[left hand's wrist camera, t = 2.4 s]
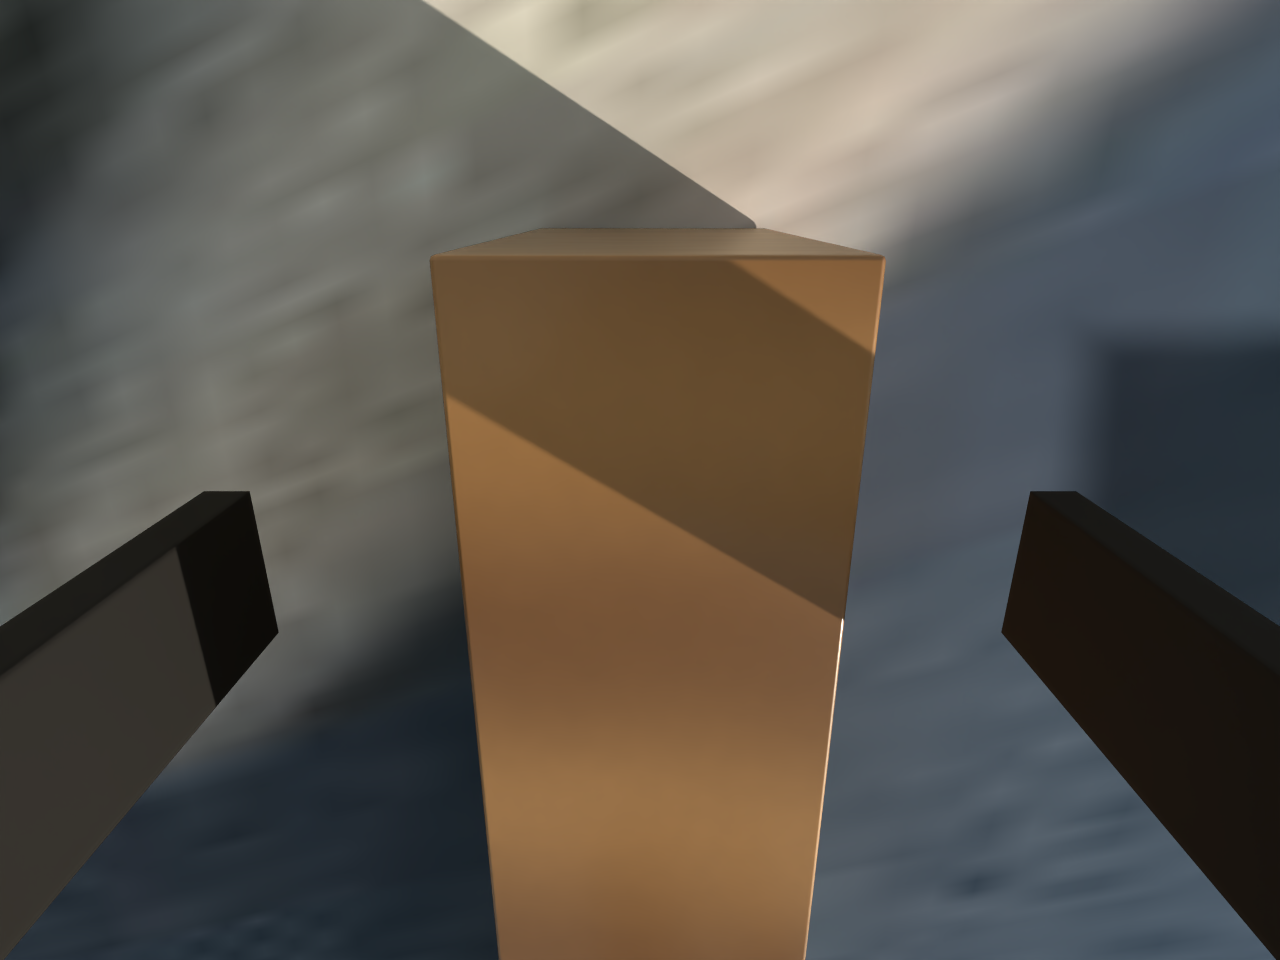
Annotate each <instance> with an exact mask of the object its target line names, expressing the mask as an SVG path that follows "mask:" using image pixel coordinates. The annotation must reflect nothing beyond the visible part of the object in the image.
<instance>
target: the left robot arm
mask: <svg viewBox="0 0 1280 960" xmlns="http://www.w3.org/2000/svg"><path fill="white" fill-rule="evenodd" d="M278 633H279V632H278V627H277V622H276V617H275V613H274V608H273V603H272V598H271V593H270V588H269V583H268V579H267V574H266V569H265V564H264V559H263V554H262V549H261V544H260V540H259V535H258V530H257V525H256V520H255V515H254V510H253V506H252V501H251V496H250V491H204V492H202V493H201V494H199V495H198V496H196V497H195V498H193V499H192V500H190V501H189V502H187V503H186V504H184V505H183V506H181V507H180V508H178V509H177V510H175V511H174V512H172V513H171V514H169V515H168V516H166V517H165V518H163V519H162V520H160V521H159V522H157V523H156V524H154V525H153V526H151V527H150V528H148V529H147V530H145V531H144V532H142V533H141V534H139V535H138V536H136V537H135V538H133V539H132V540H130V541H128V542H127V543H125V544H124V545H122V546H121V547H119V548H118V549H116V550H115V551H113V552H112V553H110V554H109V555H107V556H106V557H104V558H103V559H101V560H100V561H98V562H97V563H95V564H94V565H92V566H91V567H89V568H88V569H86V570H85V571H83V572H82V573H80V574H79V575H77V576H76V577H74V578H73V579H71V580H70V581H68V582H67V583H65V584H64V585H62V586H61V587H59V588H58V589H56V590H55V591H53V592H52V593H50V594H49V595H47V596H46V597H44V598H43V599H41V600H40V601H38V602H37V603H35V604H34V605H32V606H31V607H29V608H28V609H26V610H25V611H23V612H22V613H20V614H19V615H17V616H15V617H14V618H12V619H11V620H9V621H8V622H6V623H5V624H3V625H2V626H0V960H4V959H5V958H6V956H7V955H8V954H9V953H10V952H11V950H12V949H13V948H14V947H15V946H16V945H17V943H18V942H19V941H20V940H21V939H22V937H23V936H24V935H25V934H26V933H27V931H28V930H29V929H30V928H31V927H32V925H33V924H34V923H35V922H36V921H37V919H38V918H39V917H40V916H41V915H42V914H43V912H44V911H45V910H46V909H47V908H48V906H49V905H50V904H51V903H52V902H53V900H54V899H55V898H56V897H57V896H58V894H59V893H60V892H61V891H62V890H63V889H64V887H65V886H66V885H67V884H68V883H69V881H70V880H71V879H72V878H73V877H74V875H75V874H76V873H77V872H78V871H79V869H80V868H81V867H82V866H83V865H84V864H85V862H86V861H87V860H88V859H89V858H90V856H91V855H92V854H93V853H94V852H95V850H96V849H97V848H98V847H99V846H100V844H101V843H102V842H103V841H104V840H105V839H106V837H107V836H108V835H109V834H110V833H111V831H112V830H113V829H114V828H115V827H116V825H117V824H118V823H119V822H120V821H121V819H122V818H123V817H124V816H125V815H126V814H127V812H128V811H129V810H130V809H131V808H132V806H133V805H134V804H135V803H136V802H137V800H138V799H139V798H140V797H141V796H142V794H143V793H144V792H145V791H146V790H147V789H148V787H149V786H150V785H151V784H152V783H153V781H154V780H155V779H156V778H157V777H158V775H159V774H160V773H161V772H162V771H163V769H164V768H165V767H166V766H167V765H168V763H169V762H170V761H171V760H172V759H173V758H174V756H175V755H176V754H177V753H178V752H179V750H180V749H181V748H182V747H183V746H184V744H185V743H186V742H187V741H188V740H189V738H190V737H191V736H192V735H193V734H194V733H195V731H196V730H197V729H198V728H199V727H200V725H201V724H202V723H203V722H204V721H205V719H206V718H207V717H208V716H209V715H210V713H211V712H212V711H213V710H214V709H215V708H216V706H217V705H218V704H219V703H220V702H221V700H222V699H223V698H224V697H225V696H226V694H227V693H228V692H229V691H230V690H231V688H232V687H233V686H234V685H235V684H236V683H237V681H238V680H239V679H240V678H241V677H242V675H243V674H244V673H245V672H246V671H247V669H248V668H249V667H250V666H251V665H252V663H253V662H254V661H255V660H256V659H257V658H258V656H259V655H260V654H261V653H262V652H263V650H264V649H265V648H266V647H267V646H268V644H269V643H270V642H271V641H272V640H273V638H274V637H275V636H276V635H277V634H278ZM1001 633H1002V634H1003V635H1004V636H1005V637H1006V638H1007V640H1008V641H1009V642H1010V643H1011V644H1012V646H1013V647H1014V648H1015V649H1016V650H1017V652H1018V653H1019V654H1020V655H1021V656H1022V658H1023V659H1024V660H1025V661H1026V662H1027V663H1028V665H1029V666H1030V667H1031V668H1032V669H1033V671H1034V672H1035V673H1036V674H1037V675H1038V677H1039V678H1040V679H1041V680H1042V681H1043V683H1044V684H1045V685H1046V686H1047V687H1048V688H1049V690H1050V691H1051V692H1052V693H1053V694H1054V696H1055V697H1056V698H1057V699H1058V700H1059V702H1060V703H1061V704H1062V705H1063V706H1064V708H1065V709H1066V710H1067V711H1068V712H1069V713H1070V715H1071V716H1072V717H1073V718H1074V719H1075V721H1076V722H1077V723H1078V724H1079V725H1080V727H1081V728H1082V729H1083V730H1084V731H1085V733H1086V734H1087V735H1088V736H1089V737H1090V738H1091V740H1092V741H1093V742H1094V743H1095V744H1096V746H1097V747H1098V748H1099V749H1100V750H1101V752H1102V753H1103V754H1104V755H1105V756H1106V758H1107V759H1108V760H1109V761H1110V762H1111V763H1112V765H1113V766H1114V767H1115V768H1116V769H1117V771H1118V772H1119V773H1120V774H1121V775H1122V777H1123V778H1124V779H1125V780H1126V781H1127V783H1128V784H1129V785H1130V786H1131V787H1132V789H1133V790H1134V791H1135V792H1136V793H1137V794H1138V796H1139V797H1140V798H1141V799H1142V800H1143V802H1144V803H1145V804H1146V805H1147V806H1148V808H1149V809H1150V810H1151V811H1152V812H1153V814H1154V815H1155V816H1156V817H1157V818H1158V819H1159V821H1160V822H1161V823H1162V824H1163V825H1164V827H1165V828H1166V829H1167V830H1168V831H1169V833H1170V834H1171V835H1172V836H1173V837H1174V839H1175V840H1176V841H1177V842H1178V843H1179V844H1180V846H1181V847H1182V848H1183V849H1184V850H1185V852H1186V853H1187V854H1188V855H1189V856H1190V858H1191V859H1192V860H1193V861H1194V862H1195V864H1196V865H1197V866H1198V867H1199V868H1200V869H1201V871H1202V872H1203V873H1204V874H1205V875H1206V877H1207V878H1208V879H1209V880H1210V881H1211V883H1212V884H1213V885H1214V886H1215V887H1216V889H1217V890H1218V891H1219V892H1220V893H1221V894H1222V896H1223V897H1224V898H1225V899H1226V900H1227V902H1228V903H1229V904H1230V905H1231V906H1232V908H1233V909H1234V910H1235V911H1236V912H1237V914H1238V915H1239V916H1240V917H1241V918H1242V919H1243V921H1244V922H1245V923H1246V924H1247V925H1248V927H1249V928H1250V929H1251V930H1252V931H1253V933H1254V934H1255V935H1256V936H1257V937H1258V939H1259V940H1260V941H1261V942H1262V943H1263V945H1264V946H1265V947H1266V948H1267V949H1268V950H1269V952H1270V953H1271V954H1272V955H1273V956H1274V958H1275V959H1276V960H1280V626H1278V625H1277V624H1275V623H1274V622H1272V621H1271V620H1269V619H1268V618H1266V617H1265V616H1263V615H1261V614H1260V613H1258V612H1257V611H1255V610H1254V609H1252V608H1251V607H1249V606H1248V605H1246V604H1245V603H1243V602H1242V601H1240V600H1239V599H1237V598H1236V597H1234V596H1233V595H1231V594H1230V593H1228V592H1227V591H1225V590H1224V589H1222V588H1221V587H1219V586H1218V585H1216V584H1215V583H1213V582H1212V581H1210V580H1209V579H1207V578H1206V577H1204V576H1203V575H1201V574H1200V573H1198V572H1197V571H1195V570H1194V569H1192V568H1191V567H1189V566H1188V565H1186V564H1185V563H1183V562H1182V561H1180V560H1179V559H1177V558H1176V557H1174V556H1173V555H1171V554H1170V553H1168V552H1167V551H1165V550H1164V549H1162V548H1161V547H1159V546H1158V545H1156V544H1155V543H1153V542H1152V541H1150V540H1148V539H1147V538H1145V537H1144V536H1142V535H1141V534H1139V533H1138V532H1136V531H1135V530H1133V529H1132V528H1130V527H1129V526H1127V525H1126V524H1124V523H1123V522H1121V521H1120V520H1118V519H1117V518H1115V517H1114V516H1112V515H1111V514H1109V513H1108V512H1106V511H1105V510H1103V509H1102V508H1100V507H1099V506H1097V505H1096V504H1094V503H1093V502H1091V501H1090V500H1088V499H1087V498H1085V497H1084V496H1082V495H1081V494H1079V493H1078V492H1076V491H1030V496H1029V501H1028V506H1027V510H1026V515H1025V520H1024V525H1023V530H1022V535H1021V540H1020V544H1019V549H1018V554H1017V559H1016V564H1015V569H1014V574H1013V579H1012V583H1011V588H1010V593H1009V598H1008V603H1007V608H1006V613H1005V617H1004V622H1003V627H1002V632H1001Z"/></svg>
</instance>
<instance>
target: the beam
mask: <svg viewBox="0 0 1280 960" xmlns="http://www.w3.org/2000/svg"><path fill="white" fill-rule="evenodd" d="M885 263H886V260H885V257H884V256H882V255H879V254H874V253H870V252H866V251H861V250H857V249H852V248H848V247H844V246H839V245H835V244H831V243H826V242H822V241H817V240H813V239H809V238H804V237H800V236H795V235H791V234H787V233H782V232H778V231H773V230H769V229H765V228H541V229H537V230H533V231H529V232H524V233H520V234H516V235H512V236H508V237H504V238H500V239H496V240H492V241H488V242H484V243H480V244H476V245H472V246H468V247H464V248H460V249H456V250H451V251H447V252H443V253H439V254H435V255H433V256H431V258H430V269H431V280H432V290H433V300H434V310H435V320H436V330H437V340H438V350H439V360H440V371H441V381H442V391H443V401H444V411H445V421H446V431H447V441H448V452H449V462H450V472H451V482H452V492H453V502H454V512H455V522H456V532H457V543H458V553H459V563H460V573H461V583H462V593H463V603H464V613H465V623H466V634H467V644H468V654H469V664H470V674H471V684H472V694H473V704H474V715H475V725H476V735H477V745H478V755H479V765H480V775H481V785H482V795H483V806H484V816H485V826H486V836H487V846H488V856H489V866H490V876H491V887H492V897H493V907H494V917H495V927H496V937H497V947H498V957H499V960H805V956H806V947H807V939H808V930H809V921H810V913H811V904H812V895H813V887H814V878H815V869H816V861H817V852H818V843H819V835H820V826H821V818H822V809H823V800H824V792H825V783H826V774H827V766H828V757H829V748H830V740H831V731H832V722H833V714H834V705H835V696H836V688H837V679H838V670H839V662H840V653H841V644H842V636H843V627H844V618H845V610H846V601H847V592H848V584H849V575H850V566H851V558H852V549H853V540H854V532H855V523H856V514H857V506H858V497H859V488H860V480H861V471H862V463H863V454H864V445H865V437H866V428H867V419H868V411H869V402H870V393H871V385H872V376H873V367H874V359H875V350H876V341H877V333H878V324H879V315H880V307H881V298H882V289H883V281H884V272H885Z"/></svg>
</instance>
